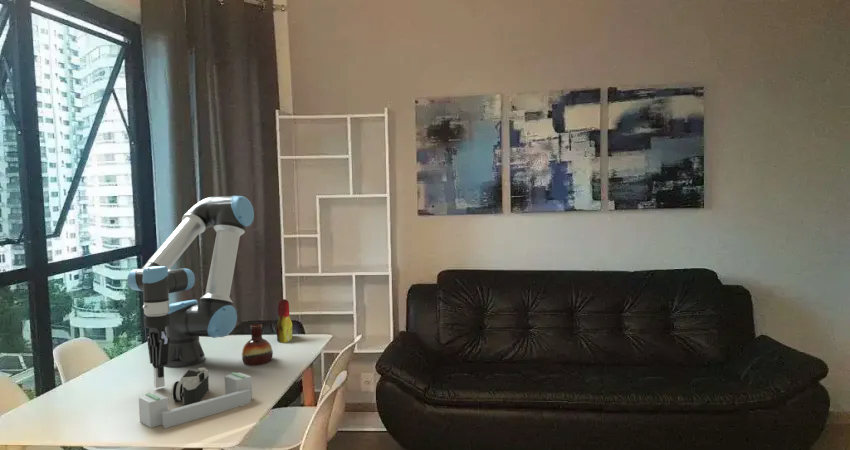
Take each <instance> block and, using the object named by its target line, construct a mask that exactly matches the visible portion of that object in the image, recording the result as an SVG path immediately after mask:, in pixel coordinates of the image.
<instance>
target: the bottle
mask: <svg viewBox="0 0 850 450" xmlns="http://www.w3.org/2000/svg"><path fill="white" fill-rule="evenodd" d="M289 303H290V302H289V301H288V299H285V298H282V299H280V300H279V302H278V308H277V314H278V321H277V322H276V341H277V343H280V344H285V343H288V342H289V341H291V340H292V338H293V322H292V320H291V317H290V304H289Z"/></svg>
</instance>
